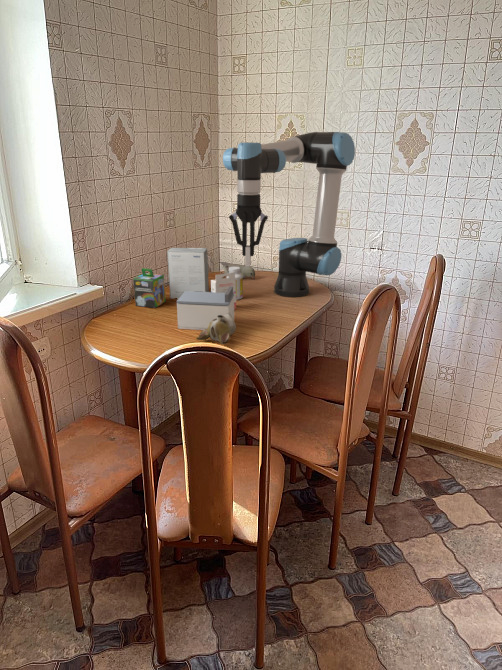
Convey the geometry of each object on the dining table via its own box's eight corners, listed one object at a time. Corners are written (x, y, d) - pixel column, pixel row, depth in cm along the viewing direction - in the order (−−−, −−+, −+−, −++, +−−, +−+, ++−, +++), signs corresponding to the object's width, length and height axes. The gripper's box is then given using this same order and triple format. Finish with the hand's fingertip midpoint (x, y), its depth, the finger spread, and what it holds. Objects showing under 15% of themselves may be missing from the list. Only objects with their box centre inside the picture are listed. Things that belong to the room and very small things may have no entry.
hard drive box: (209, 294, 216) (208, 248, 208) (206, 300, 209) (204, 252, 201) (173, 293, 217) (171, 247, 210) (169, 298, 210) (166, 251, 203)
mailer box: (234, 319, 187) (234, 296, 183) (228, 331, 175) (228, 306, 172) (186, 317, 189) (185, 294, 185) (177, 328, 178) (176, 304, 174)
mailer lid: (234, 295, 183) (234, 285, 182) (228, 305, 172) (228, 295, 171) (185, 293, 185) (184, 283, 184) (176, 303, 174) (176, 293, 173)
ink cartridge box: (230, 305, 202) (230, 269, 196) (236, 309, 198) (236, 272, 192) (210, 308, 198) (210, 272, 193) (216, 312, 194) (215, 275, 189)
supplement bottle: (238, 294, 216) (238, 265, 211) (245, 299, 210) (245, 268, 205) (224, 296, 213) (223, 266, 208) (230, 301, 207) (230, 270, 203)
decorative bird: (254, 281, 236) (254, 264, 233) (218, 279, 239) (217, 262, 236) (256, 278, 241) (256, 261, 238) (221, 276, 244) (221, 259, 241)
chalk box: (166, 302, 206) (164, 266, 200) (155, 308, 198) (152, 271, 192) (146, 299, 209) (143, 264, 203) (134, 306, 201) (131, 269, 195)
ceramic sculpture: (243, 310, 170) (223, 326, 157) (244, 333, 173) (224, 351, 161) (215, 306, 174) (193, 322, 161) (216, 329, 177) (195, 346, 165)
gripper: (270, 192, 166) (268, 263, 175) (230, 191, 168) (230, 262, 176) (267, 195, 159) (266, 268, 168) (226, 194, 161) (227, 267, 169)
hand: (248, 265), depth 172 cm, fingers closed
